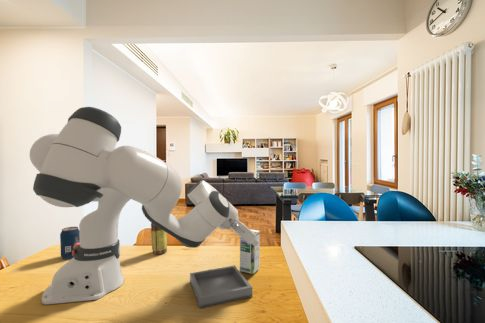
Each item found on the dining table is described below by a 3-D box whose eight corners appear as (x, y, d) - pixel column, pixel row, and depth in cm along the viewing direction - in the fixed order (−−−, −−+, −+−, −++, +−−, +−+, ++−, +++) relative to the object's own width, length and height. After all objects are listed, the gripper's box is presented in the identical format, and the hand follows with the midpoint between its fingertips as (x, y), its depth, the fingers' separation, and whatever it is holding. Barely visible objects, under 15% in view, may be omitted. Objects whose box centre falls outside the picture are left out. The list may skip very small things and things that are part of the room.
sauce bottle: (169, 249, 116) (168, 206, 116) (163, 255, 110) (162, 209, 109) (155, 249, 117) (154, 205, 116) (148, 254, 111) (148, 208, 110)
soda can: (64, 254, 111) (63, 227, 111) (82, 252, 114) (81, 225, 113) (58, 261, 105) (57, 231, 104) (77, 258, 107) (76, 230, 106)
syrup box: (239, 271, 94) (239, 232, 94) (246, 264, 100) (246, 227, 99) (253, 274, 92) (253, 234, 91) (260, 268, 97) (260, 229, 96)
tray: (200, 308, 73) (200, 298, 73) (190, 281, 88) (190, 273, 88) (252, 296, 79) (252, 287, 79) (234, 273, 94) (234, 265, 93)
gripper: (242, 216, 83) (269, 242, 87) (223, 204, 102) (246, 226, 106) (229, 231, 81) (257, 257, 85) (212, 216, 100) (236, 238, 104)
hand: (251, 240), depth 96 cm, fingers closed on syrup box, 8 cm apart
